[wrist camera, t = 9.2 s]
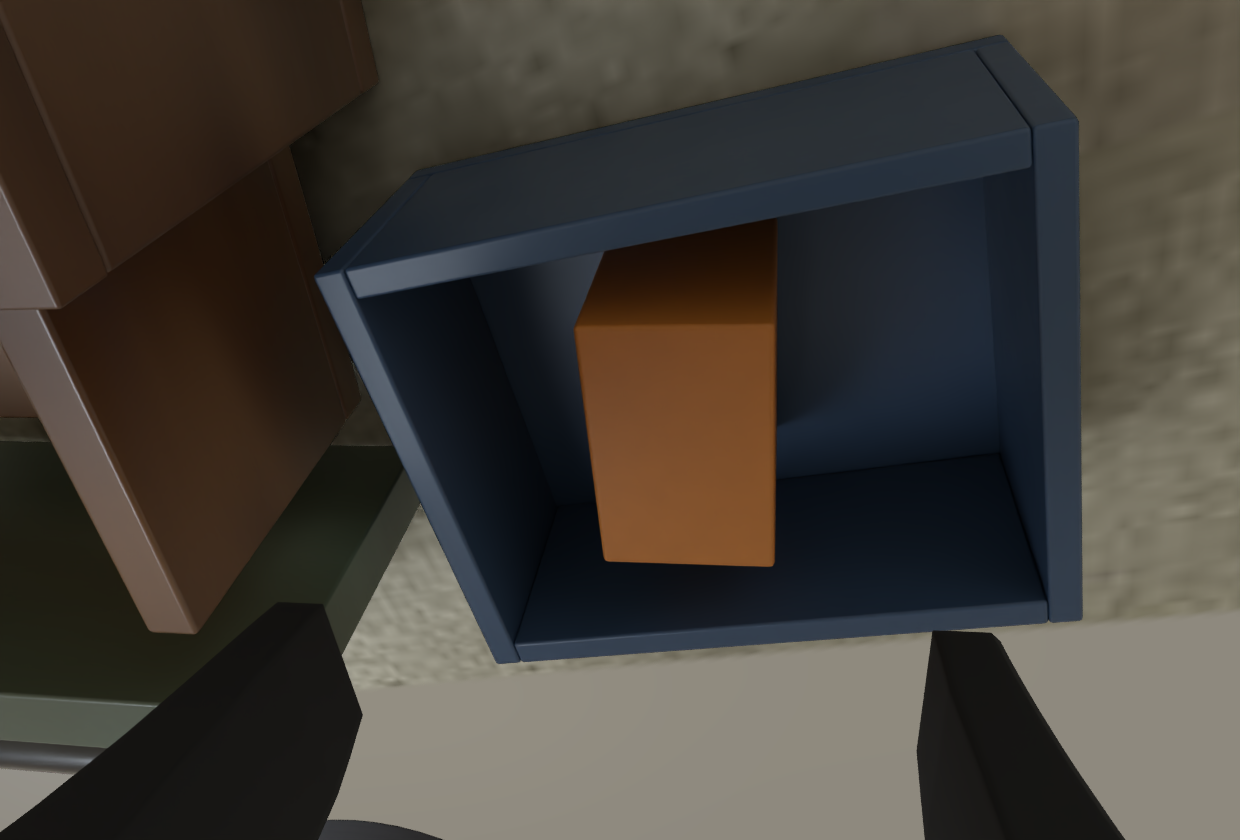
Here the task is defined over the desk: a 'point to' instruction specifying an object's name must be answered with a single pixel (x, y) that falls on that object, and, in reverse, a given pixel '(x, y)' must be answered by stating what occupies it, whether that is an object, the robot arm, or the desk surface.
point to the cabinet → (150, 120)
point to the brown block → (684, 397)
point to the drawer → (179, 472)
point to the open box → (806, 357)
